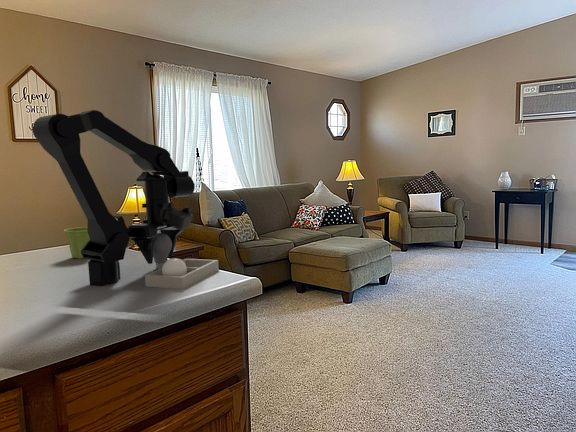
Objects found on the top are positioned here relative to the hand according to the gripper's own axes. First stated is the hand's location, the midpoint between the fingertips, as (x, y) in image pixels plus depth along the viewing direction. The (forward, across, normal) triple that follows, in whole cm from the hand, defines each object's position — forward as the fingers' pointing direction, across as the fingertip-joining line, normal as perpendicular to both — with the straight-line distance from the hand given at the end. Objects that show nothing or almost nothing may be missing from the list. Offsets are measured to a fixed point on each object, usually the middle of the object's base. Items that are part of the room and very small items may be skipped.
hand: (160, 259), depth 112 cm
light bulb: (+3, 0, 0) cm, 3 cm away
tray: (+3, -8, -11) cm, 14 cm away
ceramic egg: (+2, -12, -11) cm, 16 cm away
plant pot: (+3, +12, +35) cm, 37 cm away
